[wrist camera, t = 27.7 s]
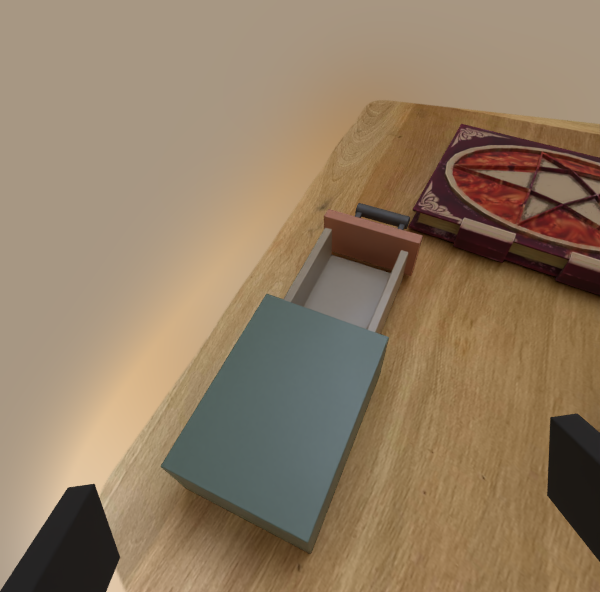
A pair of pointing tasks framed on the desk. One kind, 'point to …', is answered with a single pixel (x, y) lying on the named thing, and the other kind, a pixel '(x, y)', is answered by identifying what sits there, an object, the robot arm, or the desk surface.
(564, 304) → the desk surface
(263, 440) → the cabinet
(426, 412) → the desk surface
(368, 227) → the drawer
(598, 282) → the book
